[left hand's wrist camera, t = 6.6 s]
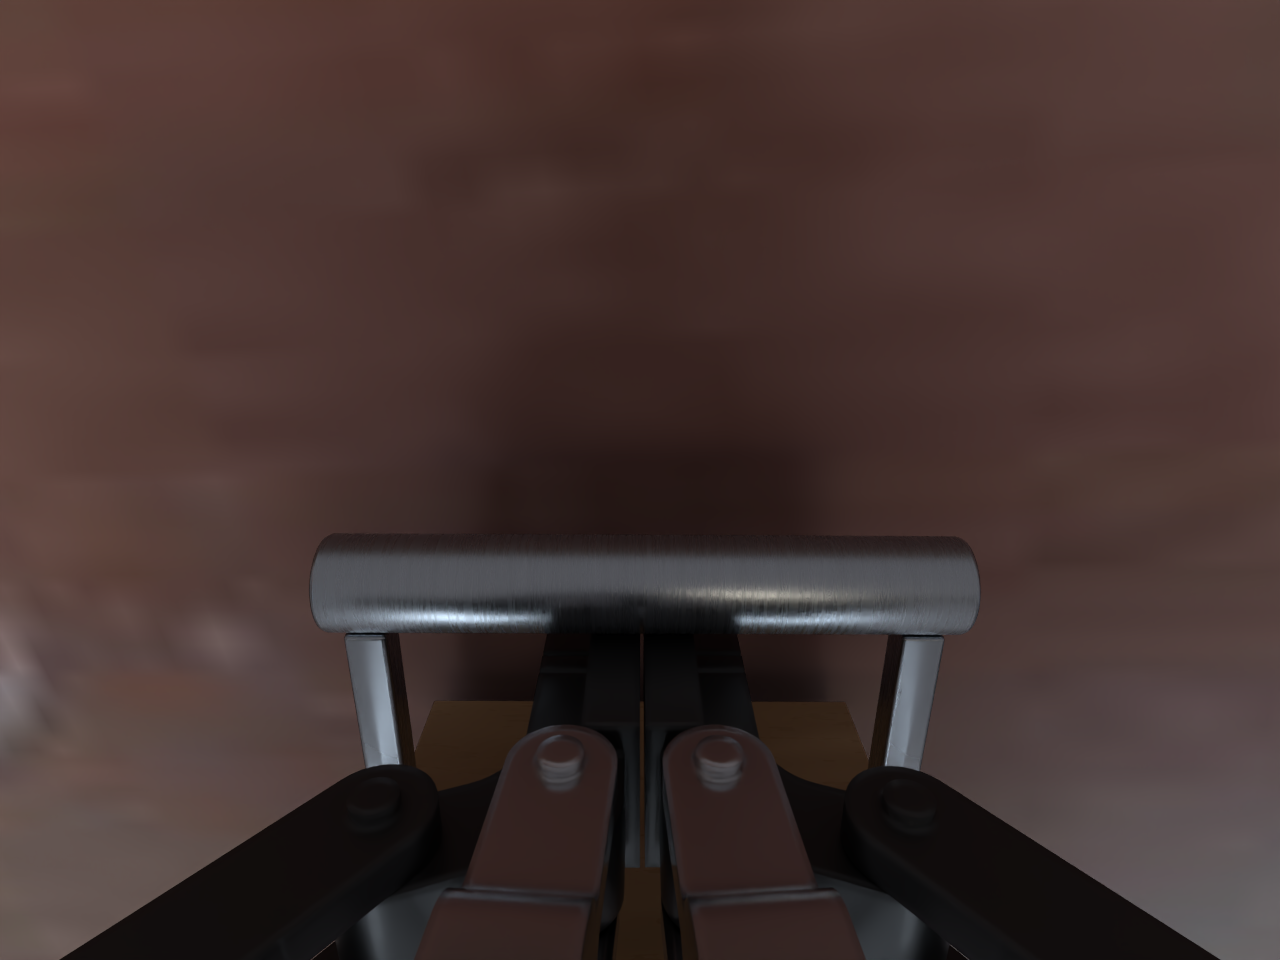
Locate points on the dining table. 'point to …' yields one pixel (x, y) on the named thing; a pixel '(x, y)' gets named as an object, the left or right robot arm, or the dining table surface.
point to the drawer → (643, 604)
